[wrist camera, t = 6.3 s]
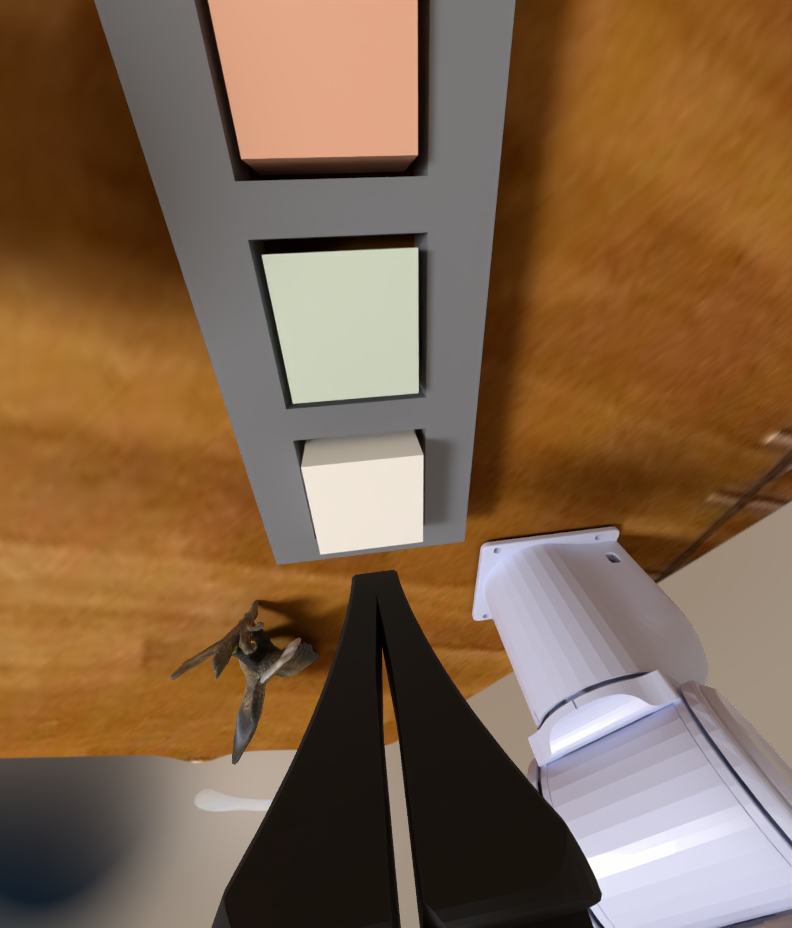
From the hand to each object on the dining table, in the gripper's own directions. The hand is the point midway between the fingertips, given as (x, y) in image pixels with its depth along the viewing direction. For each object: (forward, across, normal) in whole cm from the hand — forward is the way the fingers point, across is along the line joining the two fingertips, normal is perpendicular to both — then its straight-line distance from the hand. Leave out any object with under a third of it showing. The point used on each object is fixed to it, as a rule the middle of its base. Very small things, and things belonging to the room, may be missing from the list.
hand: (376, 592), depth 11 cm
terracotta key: (+8, 0, -14) cm, 16 cm away
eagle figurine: (+9, +8, +14) cm, 18 cm away
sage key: (+8, 0, -7) cm, 11 cm away
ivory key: (+7, 0, 0) cm, 7 cm away
